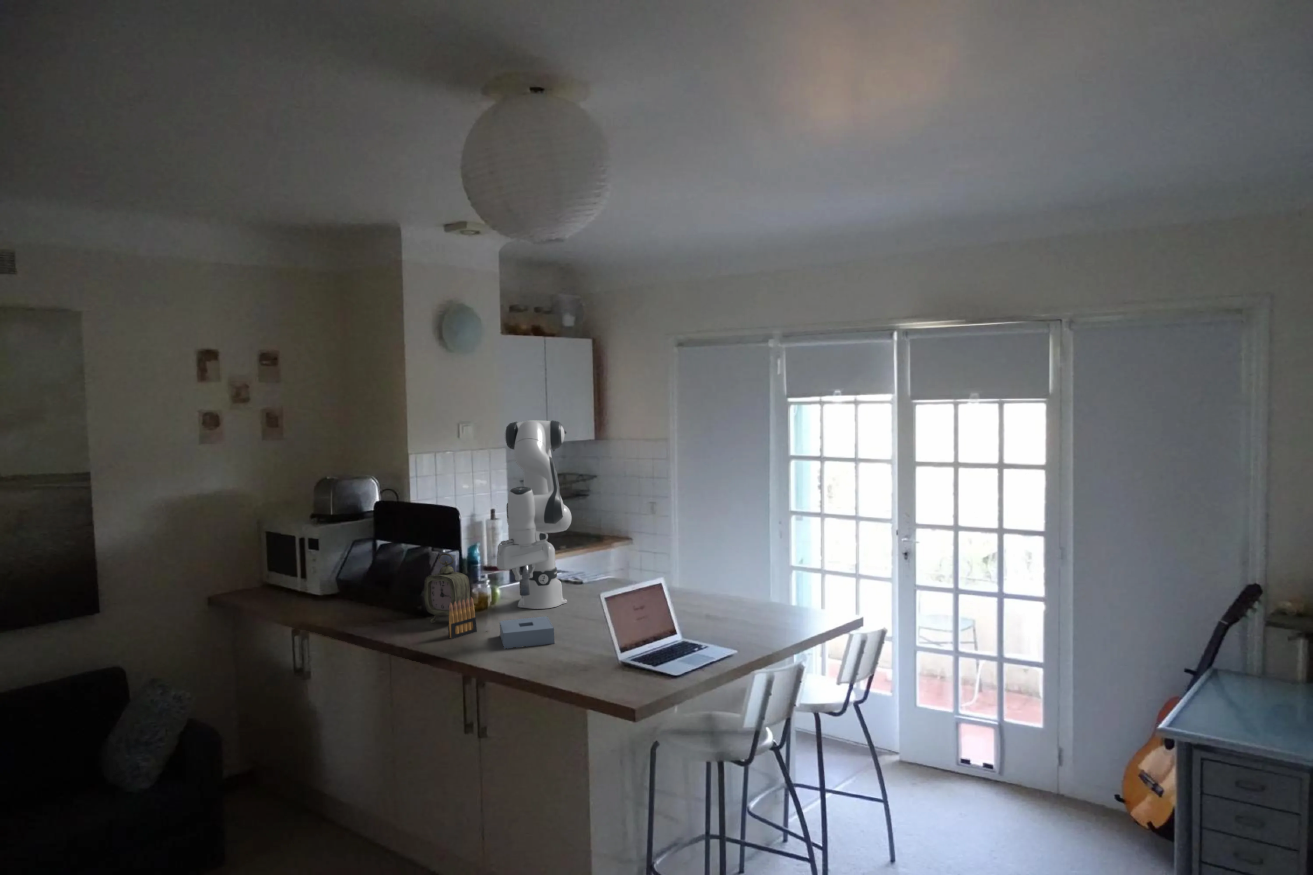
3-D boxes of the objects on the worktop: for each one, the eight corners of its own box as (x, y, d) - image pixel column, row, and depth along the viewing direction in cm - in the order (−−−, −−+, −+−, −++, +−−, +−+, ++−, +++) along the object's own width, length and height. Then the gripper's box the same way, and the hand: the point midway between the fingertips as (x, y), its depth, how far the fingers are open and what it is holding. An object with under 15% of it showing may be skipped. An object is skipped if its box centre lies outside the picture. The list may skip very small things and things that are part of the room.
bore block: (500, 635, 284) (499, 620, 284) (547, 630, 288) (547, 616, 288) (504, 648, 269) (503, 633, 269) (554, 643, 273) (553, 627, 273)
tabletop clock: (425, 623, 304) (422, 554, 303) (442, 617, 312) (439, 549, 311) (456, 627, 297) (453, 556, 296) (473, 621, 305) (470, 552, 304)
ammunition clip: (451, 639, 282) (450, 603, 282) (448, 638, 284) (446, 602, 283) (477, 631, 291) (475, 596, 290) (473, 630, 292) (472, 596, 291)
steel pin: (518, 594, 279) (517, 564, 278) (528, 593, 280) (526, 562, 280) (521, 596, 276) (520, 565, 275) (531, 594, 277) (529, 564, 277)
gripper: (504, 542, 267) (506, 586, 268) (551, 533, 283) (553, 574, 284) (491, 540, 271) (493, 583, 272) (538, 532, 287) (540, 572, 288)
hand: (524, 579), depth 278 cm, fingers closed on steel pin, 3 cm apart
